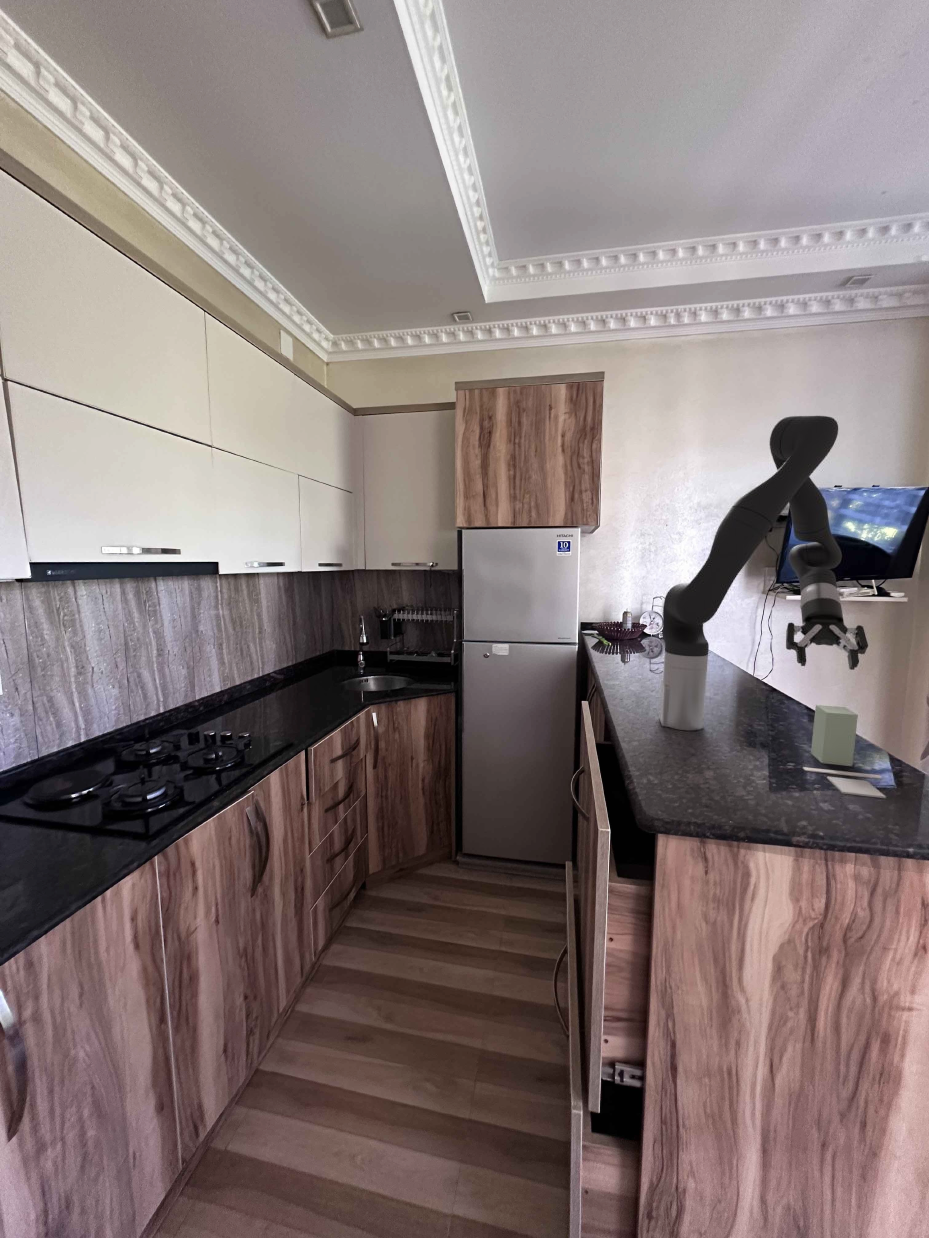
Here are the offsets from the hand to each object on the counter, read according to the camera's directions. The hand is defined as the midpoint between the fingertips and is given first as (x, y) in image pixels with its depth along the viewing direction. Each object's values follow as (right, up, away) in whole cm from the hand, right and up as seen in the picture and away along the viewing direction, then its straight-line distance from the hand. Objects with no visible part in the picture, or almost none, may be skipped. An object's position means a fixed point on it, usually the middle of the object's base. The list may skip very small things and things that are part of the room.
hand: (827, 665), depth 104 cm
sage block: (-6, -18, -8) cm, 20 cm away
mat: (-11, -19, -20) cm, 30 cm away
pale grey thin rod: (-8, -18, -15) cm, 25 cm away
